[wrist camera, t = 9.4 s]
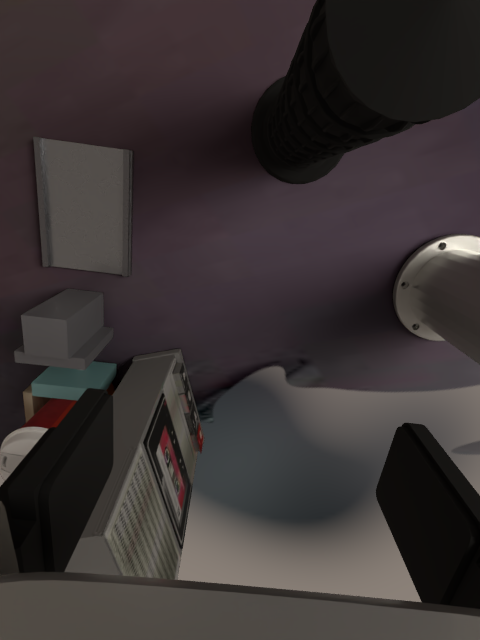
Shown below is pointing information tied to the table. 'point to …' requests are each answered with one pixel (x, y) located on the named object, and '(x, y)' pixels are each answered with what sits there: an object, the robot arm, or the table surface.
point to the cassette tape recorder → (145, 474)
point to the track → (85, 206)
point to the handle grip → (366, 80)
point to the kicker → (67, 344)
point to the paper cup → (33, 432)
